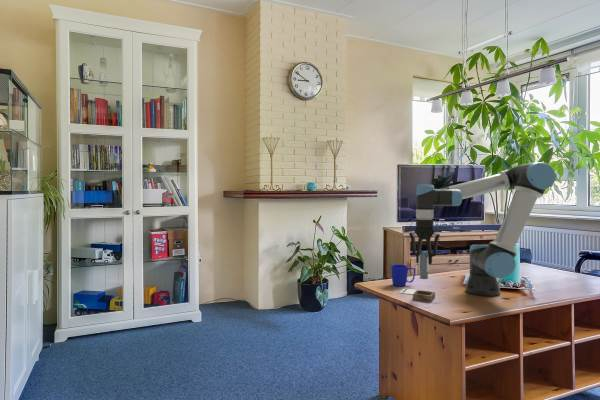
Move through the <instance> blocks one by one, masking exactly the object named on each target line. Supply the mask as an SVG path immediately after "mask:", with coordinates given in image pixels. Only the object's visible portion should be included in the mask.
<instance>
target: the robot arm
mask: <svg viewBox="0 0 600 400" xmlns="http://www.w3.org/2000/svg"><path fill="white" fill-rule="evenodd" d="M555 181H556V172H555V170H554V168H553V167H552V165H550V164H549V163H547V162H542V161H541V162H540V161H534V162H531V163H521V164H519V165H516V166H514V167H513V166H512V167H511V168H508V169H505V170H501V171H499V172H498V173H497V174H493V175H490V176H485V177H482V178H481V177H480V178H478V179H474V180H470V181H465V182H462V183H458V184H453V185H450V186H446V187H441V188H435V186H434V185H433V184H418V185H417V186H416V190H415V191H416V192H415V193H416V194H415V197H416V198H415V202H416V204H415V206H416V207H415V208H416V209H415V210H416V212H415V218H416V219H415V229H414V231H412V232H409V233H408V235H409V237H410V243H411V253H412V255H414V256H415V258H416V260H415V263H416V264H418V271H417V272H420V262H421V256H420V254H421V252H422V244H423V240H424V241H425V242H426V246H427V247H426V249H427V254H428V257H427V272H428V273H429V272H430V269H431V268H430V265H432V263H433V257H436V256H437V252H438V243H439V238H440V236H441V234H440V233H436V232H435V230H434V220H433V219H434V218H435V217H434V212H435V211H434V207H436V206H439V207H460V206H461V204H462V202H463V200H464V199H465V200H466V199H469V198H472V197H477V196H481V195H485V194H490V193H493V192H497V191H501V190H503V191H504V192H505V191H510V190H511V191H512V190H515V193H514V196H513V197H512V201H511V203H510V205H509V206H508V209H507V211H506V214H505V216H504V219H502V223H501V226H499V230H498V231H497V233H496V234H497V235H496V236H495V239H494V240H492V241H490V242H489V243H488V244H472V245H470V247H469V251H468V252H469V276H468V278H467V281H466V284H465V292H467V293H469V294H471V295H477V296H482V297H483V296H485V297H494V296H495V297H496V296H499V295H500V294H501V288H500V284H499V283H498V279H505V278H508V277H510V276H511V275H512V274H513V273H514V272H515V270H516V265H517V263H516V261H515V258H516V256H517V251H516V249H515V248H516V246H517V243H518V241H519V240H520V237H521V235H522V233H523V231H524V228H525V226H526V224H527V222H528V219H529V217H530V216H531V213H532V212H533V208H534V206H535V203H536V201H537V200H538V199H539V198H543V196H544V194H545V191H546V190H547V189H549V188H551V187H552V186H553V185H554V183H555ZM415 237H418V241H417V247H416V239H415ZM432 237H433V238H434V240H433V250H432V242H431V238H432Z"/></svg>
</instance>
